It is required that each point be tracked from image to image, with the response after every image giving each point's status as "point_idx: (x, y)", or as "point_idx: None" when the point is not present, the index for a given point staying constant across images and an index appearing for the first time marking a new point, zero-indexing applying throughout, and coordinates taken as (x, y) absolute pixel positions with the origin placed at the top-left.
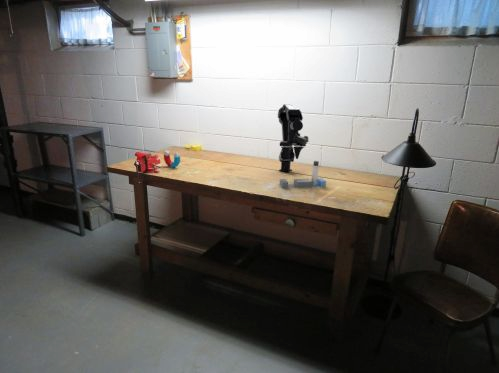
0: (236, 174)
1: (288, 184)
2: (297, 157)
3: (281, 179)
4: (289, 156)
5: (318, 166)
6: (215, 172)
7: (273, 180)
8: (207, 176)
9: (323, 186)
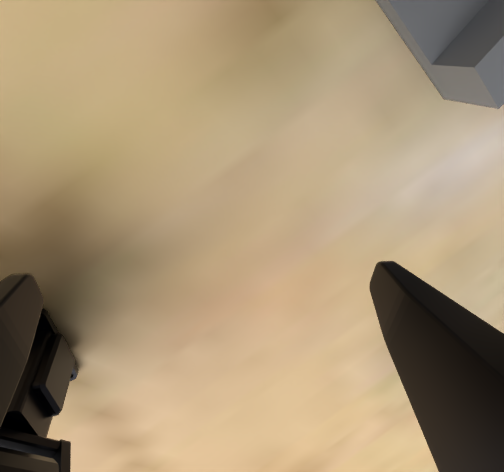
0: (352, 414)
1: (418, 31)
2: (15, 299)
3: (499, 89)
4: (418, 297)
5: None
6: (379, 461)
7: (329, 231)
8: None
9: None
